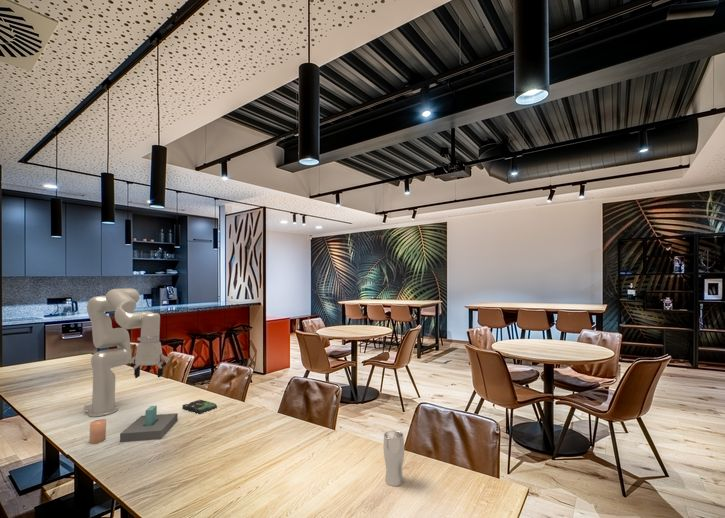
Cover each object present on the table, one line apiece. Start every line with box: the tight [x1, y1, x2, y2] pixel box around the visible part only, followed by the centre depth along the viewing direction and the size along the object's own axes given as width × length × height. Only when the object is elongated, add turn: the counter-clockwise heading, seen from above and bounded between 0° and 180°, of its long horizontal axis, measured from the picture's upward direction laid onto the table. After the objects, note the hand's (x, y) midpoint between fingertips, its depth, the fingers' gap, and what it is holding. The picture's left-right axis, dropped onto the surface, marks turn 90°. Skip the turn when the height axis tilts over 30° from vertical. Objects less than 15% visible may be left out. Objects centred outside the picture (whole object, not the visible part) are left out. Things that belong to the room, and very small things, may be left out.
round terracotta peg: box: [89, 418, 107, 445], centre depth 150 cm, size 6×6×8 cm
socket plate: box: [119, 412, 179, 443], centre depth 160 cm, size 16×20×4 cm
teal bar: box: [144, 405, 158, 426], centre depth 160 cm, size 2×6×10 cm, turn 9°
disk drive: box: [181, 399, 218, 415], centre depth 187 cm, size 10×3×15 cm
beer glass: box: [382, 430, 405, 487], centre depth 118 cm, size 7×7×15 cm
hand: (148, 376), depth 164 cm, fingers open, 9 cm apart
